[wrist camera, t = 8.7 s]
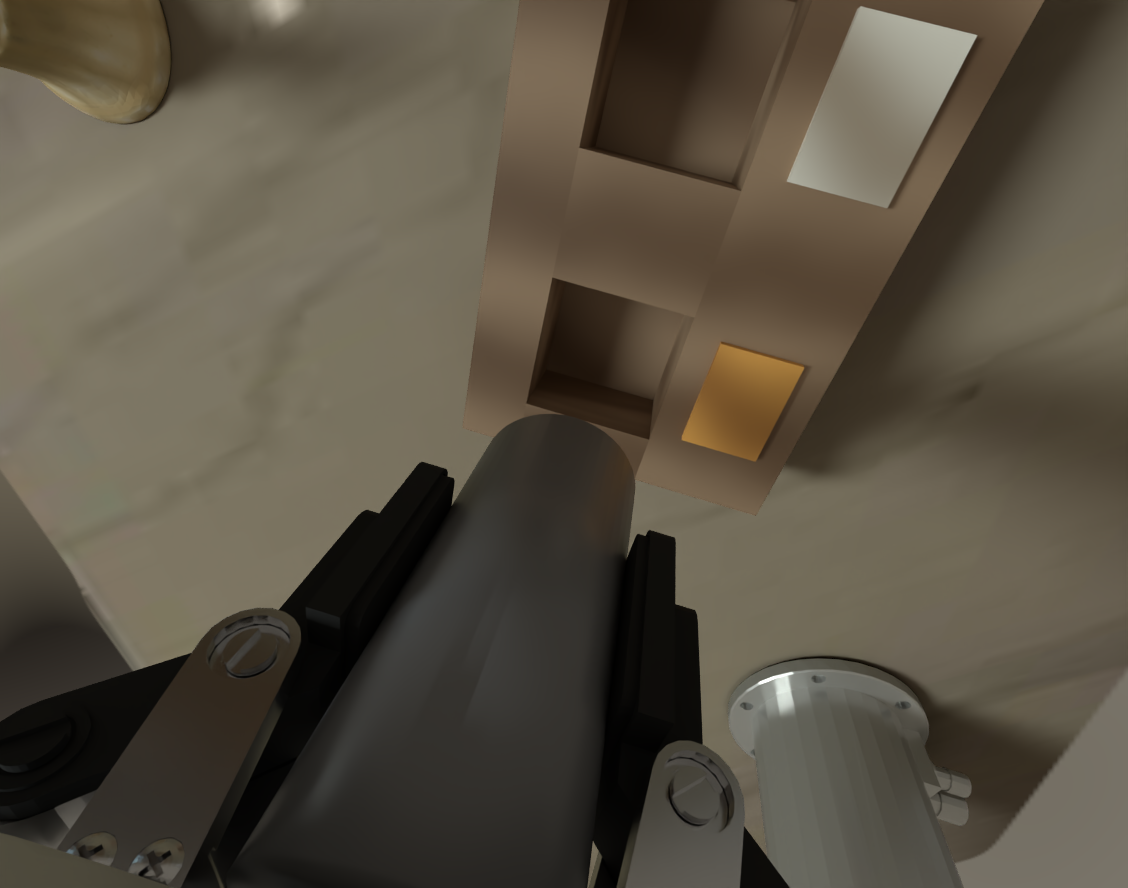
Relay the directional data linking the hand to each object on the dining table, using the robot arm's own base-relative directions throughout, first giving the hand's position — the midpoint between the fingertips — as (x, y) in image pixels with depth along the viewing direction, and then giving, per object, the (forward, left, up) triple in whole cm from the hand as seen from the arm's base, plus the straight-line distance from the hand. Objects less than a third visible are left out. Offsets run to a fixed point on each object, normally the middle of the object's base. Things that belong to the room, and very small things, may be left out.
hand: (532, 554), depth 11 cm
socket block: (-2, -5, -17) cm, 17 cm away
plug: (0, 0, -3) cm, 3 cm away
